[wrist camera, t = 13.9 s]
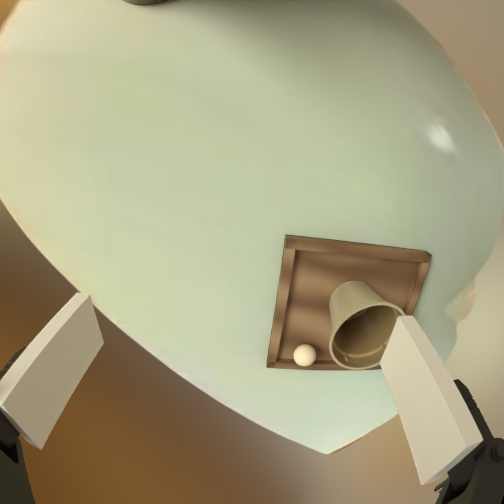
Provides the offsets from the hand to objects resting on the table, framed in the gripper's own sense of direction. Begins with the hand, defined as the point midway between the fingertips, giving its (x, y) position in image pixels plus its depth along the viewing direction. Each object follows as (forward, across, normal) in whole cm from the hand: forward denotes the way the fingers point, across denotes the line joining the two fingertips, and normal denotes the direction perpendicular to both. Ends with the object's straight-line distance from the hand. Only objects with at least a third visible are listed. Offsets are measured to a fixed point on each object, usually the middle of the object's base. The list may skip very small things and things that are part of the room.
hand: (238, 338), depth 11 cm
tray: (+23, +13, -14) cm, 30 cm away
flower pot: (+23, +13, -12) cm, 29 cm away
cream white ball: (+22, +8, -20) cm, 31 cm away
